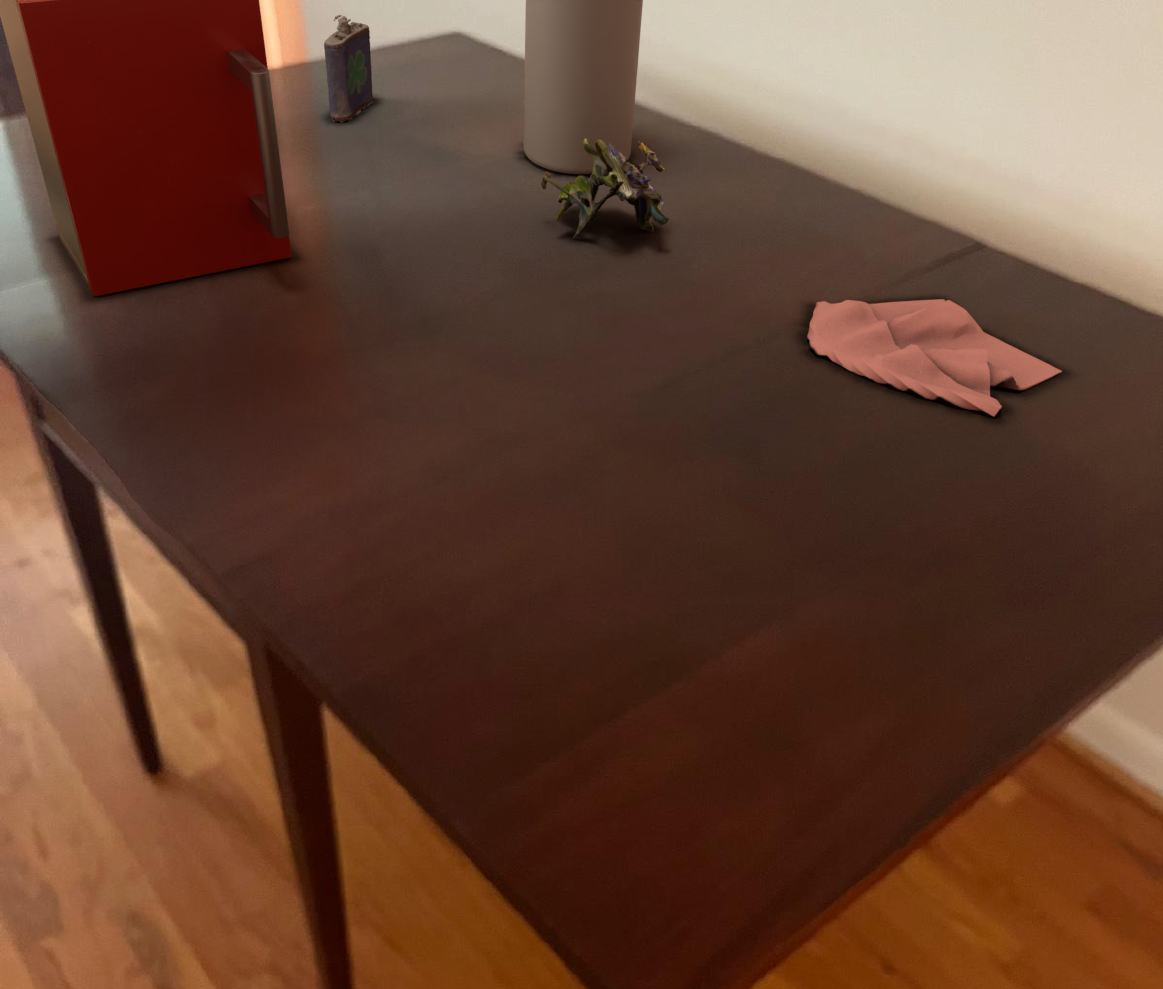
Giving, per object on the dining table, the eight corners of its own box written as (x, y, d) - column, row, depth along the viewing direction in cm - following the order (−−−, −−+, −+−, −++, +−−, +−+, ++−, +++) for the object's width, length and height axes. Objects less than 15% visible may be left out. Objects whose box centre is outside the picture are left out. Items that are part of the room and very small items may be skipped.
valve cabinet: (287, 253, 109) (251, -25, 93) (90, 292, 102) (14, -4, 85) (246, 206, 117) (206, -59, 101) (60, 239, 109) (-16, -42, 93)
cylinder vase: (646, 171, 129) (668, -76, 113) (543, 181, 126) (550, -73, 109) (607, 132, 138) (622, -103, 121) (509, 140, 134) (511, -101, 118)
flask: (345, 124, 136) (336, 28, 128) (323, 120, 136) (313, 24, 129) (378, 100, 142) (371, 8, 135) (356, 97, 143) (349, 5, 136)
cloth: (785, 300, 107) (789, 276, 106) (1005, 300, 109) (1013, 277, 108) (841, 419, 92) (847, 394, 90) (1096, 417, 94) (1106, 392, 93)
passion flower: (636, 277, 121) (699, 211, 111) (551, 280, 115) (610, 210, 105) (603, 186, 123) (661, 113, 113) (518, 184, 117) (572, 107, 107)
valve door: (316, 285, 104) (284, 1, 89) (112, 328, 97) (36, 26, 81) (288, 253, 109) (252, -22, 93) (91, 292, 101) (15, -1, 85)
